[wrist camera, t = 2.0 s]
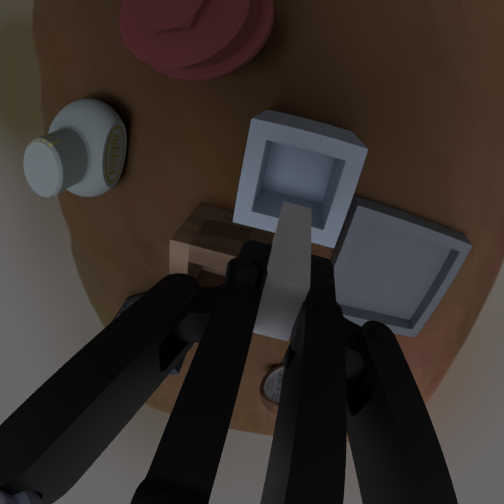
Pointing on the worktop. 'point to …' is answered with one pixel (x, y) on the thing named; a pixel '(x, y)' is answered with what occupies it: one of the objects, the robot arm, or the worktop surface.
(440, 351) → the worktop surface
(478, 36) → the worktop surface
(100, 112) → the air freshener
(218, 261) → the brown open cube box
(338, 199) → the block
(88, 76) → the worktop surface
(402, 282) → the tray
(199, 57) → the mechanical component
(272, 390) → the tin
